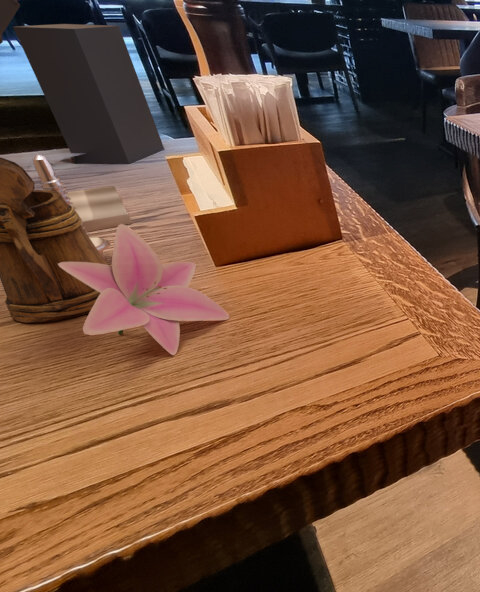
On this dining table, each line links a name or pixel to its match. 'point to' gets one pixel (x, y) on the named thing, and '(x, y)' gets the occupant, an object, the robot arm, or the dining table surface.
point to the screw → (61, 192)
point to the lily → (142, 292)
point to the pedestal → (92, 91)
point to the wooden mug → (41, 251)
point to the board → (99, 208)
